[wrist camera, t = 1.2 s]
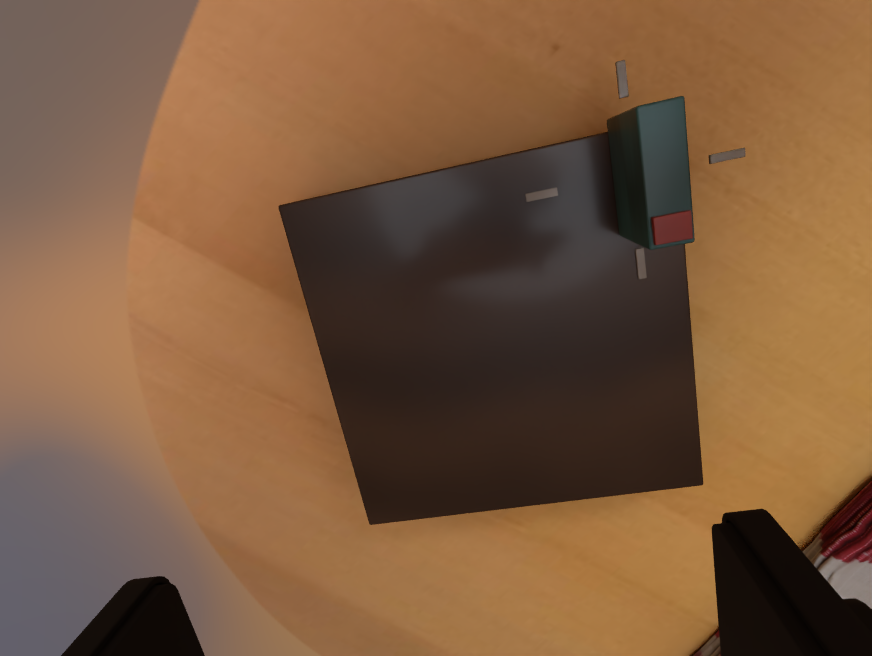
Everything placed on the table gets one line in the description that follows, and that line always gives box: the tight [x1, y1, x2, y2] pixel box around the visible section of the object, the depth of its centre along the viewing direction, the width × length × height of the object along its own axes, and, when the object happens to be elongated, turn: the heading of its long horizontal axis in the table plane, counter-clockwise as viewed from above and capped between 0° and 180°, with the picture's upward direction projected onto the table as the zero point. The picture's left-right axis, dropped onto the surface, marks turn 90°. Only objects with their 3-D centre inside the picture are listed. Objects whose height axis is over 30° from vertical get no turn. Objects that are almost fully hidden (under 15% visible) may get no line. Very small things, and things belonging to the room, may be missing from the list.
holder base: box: [279, 60, 745, 525], centre depth 26 cm, size 21×21×3 cm
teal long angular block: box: [607, 96, 695, 250], centre depth 20 cm, size 5×2×5 cm, turn 12°
